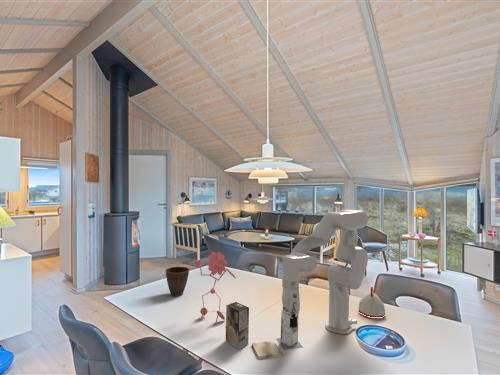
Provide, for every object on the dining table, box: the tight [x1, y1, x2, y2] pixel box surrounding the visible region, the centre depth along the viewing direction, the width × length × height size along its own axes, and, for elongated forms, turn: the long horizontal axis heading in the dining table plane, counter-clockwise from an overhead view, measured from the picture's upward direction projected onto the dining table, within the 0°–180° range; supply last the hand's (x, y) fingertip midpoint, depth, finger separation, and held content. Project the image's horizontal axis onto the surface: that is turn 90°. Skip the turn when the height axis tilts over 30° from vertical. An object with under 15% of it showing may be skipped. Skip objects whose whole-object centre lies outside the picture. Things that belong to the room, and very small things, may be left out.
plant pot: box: [165, 266, 190, 297], centre depth 181 cm, size 15×15×16 cm
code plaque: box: [276, 337, 304, 350], centre depth 124 cm, size 9×9×1 cm
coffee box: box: [225, 301, 250, 350], centre depth 124 cm, size 9×6×16 cm
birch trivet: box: [251, 340, 283, 360], centre depth 117 cm, size 10×10×1 cm
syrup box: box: [280, 308, 300, 346], centre depth 125 cm, size 6×6×14 cm
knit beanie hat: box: [358, 286, 386, 317], centre depth 159 cm, size 14×14×15 cm
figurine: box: [194, 251, 237, 328], centre depth 149 cm, size 15×26×35 cm, turn 64°
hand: (289, 322), depth 125 cm, fingers closed on syrup box, 7 cm apart
